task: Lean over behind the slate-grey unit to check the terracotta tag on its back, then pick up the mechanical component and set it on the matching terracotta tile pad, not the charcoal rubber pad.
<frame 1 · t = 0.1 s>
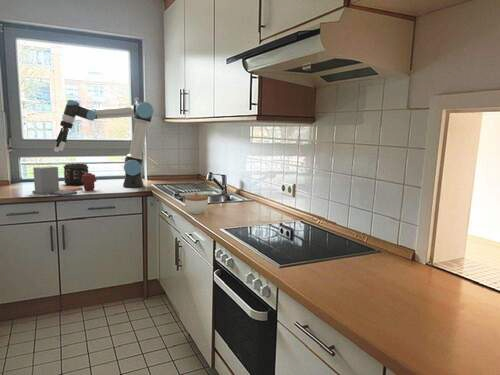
hand: (58, 150, 255), 28 cm above the worktop, tool tilted 20°, fingers open, 13 cm apart
grey unit: (47, 192, 250), on the worktop
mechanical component: (89, 190, 264), on the worktop
terracotta pad: (67, 190, 263), on the worktop
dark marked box: (76, 184, 290), on the worktop
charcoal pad: (64, 194, 247), on the worktop
lidded bowl: (196, 213, 202), on the worktop
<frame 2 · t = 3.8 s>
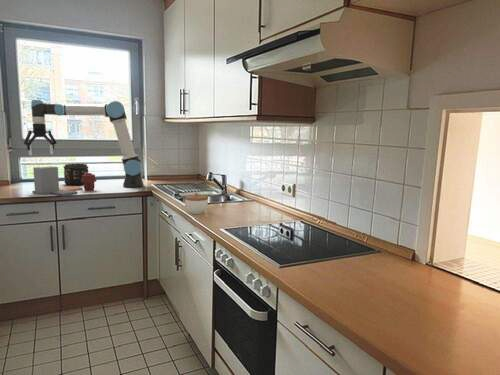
hand: (41, 154, 253), 25 cm above the worktop, tool pointing down, fingers open, 13 cm apart
nothing on the worktop moved.
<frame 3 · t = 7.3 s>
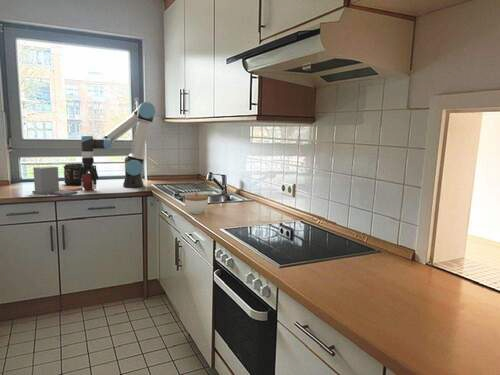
hand: (88, 188, 263), 2 cm above the worktop, tool pointing down, fingers open, 11 cm apart
nothing on the worktop moved.
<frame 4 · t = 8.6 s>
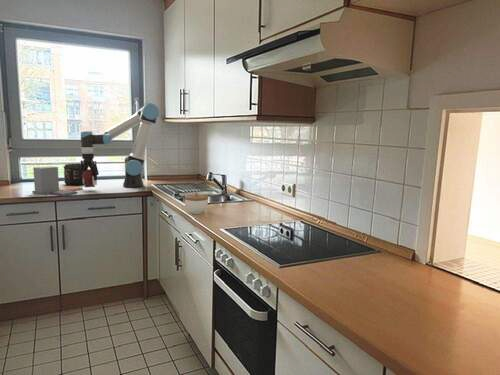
hand: (89, 184, 263), 4 cm above the worktop, tool pointing down, fingers closed on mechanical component, 10 cm apart
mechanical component: (90, 187, 263), point 2 cm above the worktop, touching gripper
everything else where it was.
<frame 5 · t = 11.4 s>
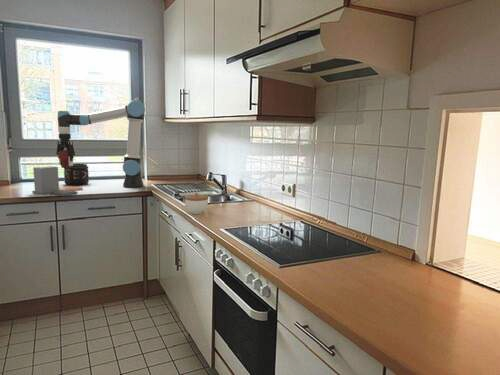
hand: (66, 165, 260), 18 cm above the worktop, tool pointing down, fingers closed on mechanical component, 10 cm apart
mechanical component: (66, 167, 260), point 16 cm above the worktop, touching gripper
everything else where it was.
when the fingers open (4 cm above the worktop, at t = 14.2 s): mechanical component moves 1 cm, resting on terracotta pad.
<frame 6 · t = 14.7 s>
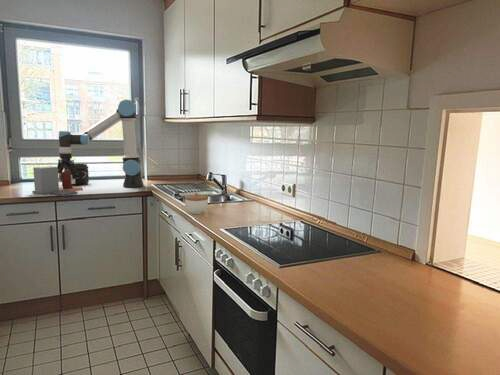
hand: (67, 182, 262), 5 cm above the worktop, tool pointing down, fingers open, 13 cm apart
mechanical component: (67, 188, 263), point 1 cm above the worktop, touching terracotta pad
everything else where it was.
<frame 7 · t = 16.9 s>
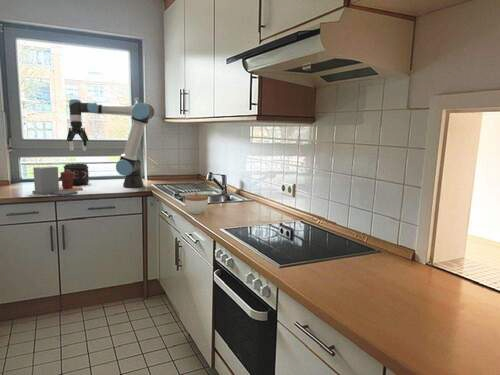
hand: (78, 150, 270), 28 cm above the worktop, tool pointing down, fingers open, 13 cm apart
nothing on the worktop moved.
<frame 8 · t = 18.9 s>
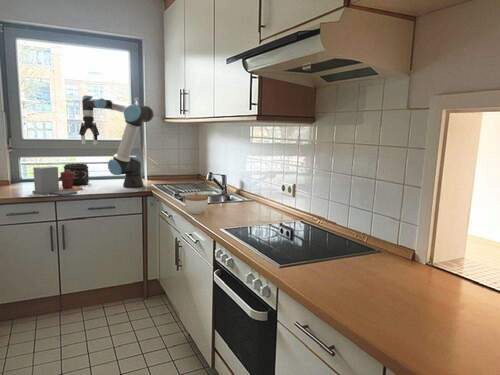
hand: (89, 144, 283), 32 cm above the worktop, tool pointing down, fingers open, 13 cm apart
nothing on the worktop moved.
at the end: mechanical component inside the target area on the terracotta pad (0.3 cm from its centre), point 1.3 cm above the terracotta pad's base; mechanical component tilted 0°; the gripper is holding nothing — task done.
